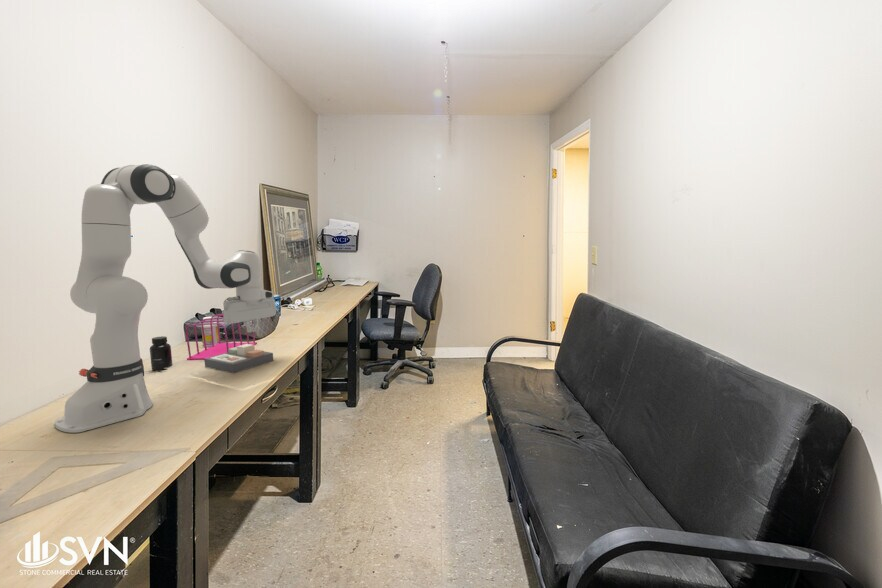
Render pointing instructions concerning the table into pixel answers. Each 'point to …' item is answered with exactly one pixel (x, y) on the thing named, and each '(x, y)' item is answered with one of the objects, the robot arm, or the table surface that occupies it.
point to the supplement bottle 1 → (160, 354)
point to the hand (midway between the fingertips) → (251, 331)
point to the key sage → (233, 350)
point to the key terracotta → (254, 353)
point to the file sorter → (217, 348)
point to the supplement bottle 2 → (208, 333)
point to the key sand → (244, 349)
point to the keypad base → (236, 362)
